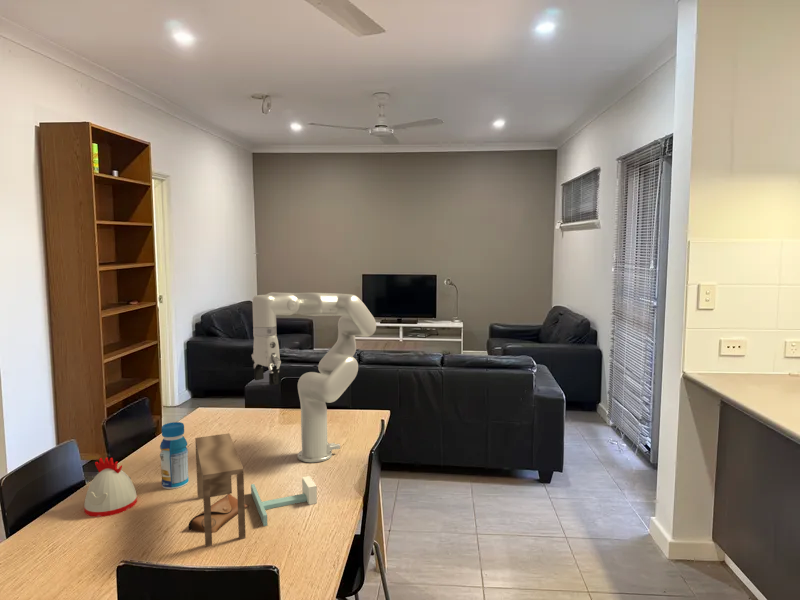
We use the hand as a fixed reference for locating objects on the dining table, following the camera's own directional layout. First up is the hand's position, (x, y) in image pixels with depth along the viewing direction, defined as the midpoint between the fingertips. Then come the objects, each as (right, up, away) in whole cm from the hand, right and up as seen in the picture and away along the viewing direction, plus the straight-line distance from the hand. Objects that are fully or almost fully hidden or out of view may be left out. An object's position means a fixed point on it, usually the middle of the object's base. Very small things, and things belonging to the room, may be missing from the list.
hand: (266, 382), depth 179 cm
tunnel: (-7, -35, -27) cm, 44 cm away
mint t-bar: (+11, -34, -19) cm, 40 cm away
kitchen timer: (-42, -35, -19) cm, 58 cm away
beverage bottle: (-29, -33, -5) cm, 44 cm away
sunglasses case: (-6, -35, -27) cm, 45 cm away
